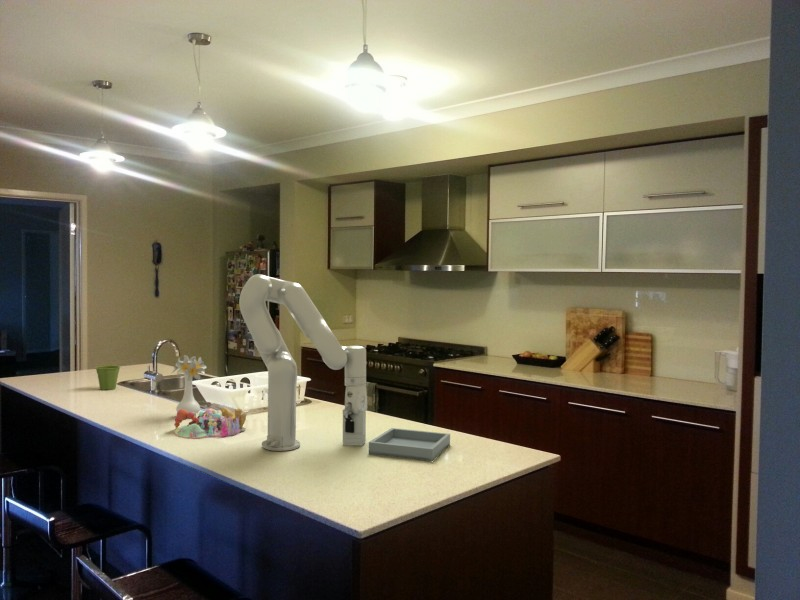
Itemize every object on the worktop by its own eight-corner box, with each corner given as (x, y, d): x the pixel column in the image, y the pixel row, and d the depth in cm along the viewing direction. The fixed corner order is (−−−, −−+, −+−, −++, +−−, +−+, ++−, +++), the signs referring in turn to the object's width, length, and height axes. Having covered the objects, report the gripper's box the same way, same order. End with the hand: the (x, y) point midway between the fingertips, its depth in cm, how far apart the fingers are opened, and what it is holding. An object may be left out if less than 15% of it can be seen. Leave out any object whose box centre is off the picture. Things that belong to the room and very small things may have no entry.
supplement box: (366, 441, 225) (366, 406, 224) (362, 446, 217) (363, 410, 217) (345, 440, 225) (346, 405, 225) (341, 445, 218) (342, 409, 218)
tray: (432, 461, 200) (432, 449, 200) (368, 454, 208) (368, 442, 208) (449, 445, 221) (450, 433, 221) (391, 438, 228) (391, 427, 228)
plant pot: (125, 387, 324) (125, 365, 323) (111, 391, 312) (111, 369, 311) (104, 386, 325) (104, 365, 325) (89, 390, 313) (89, 368, 313)
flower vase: (183, 422, 248) (184, 359, 247) (165, 414, 261) (165, 355, 261) (214, 418, 256) (215, 357, 255) (195, 410, 270) (196, 353, 269)
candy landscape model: (220, 421, 252) (220, 398, 252) (257, 431, 237) (257, 407, 237) (163, 432, 233) (163, 407, 233) (199, 443, 218) (199, 417, 218)
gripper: (355, 385, 211) (355, 436, 212) (374, 378, 228) (374, 424, 228) (335, 384, 214) (335, 434, 214) (355, 376, 230) (355, 423, 231)
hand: (355, 429), depth 221 cm, fingers open, 9 cm apart
